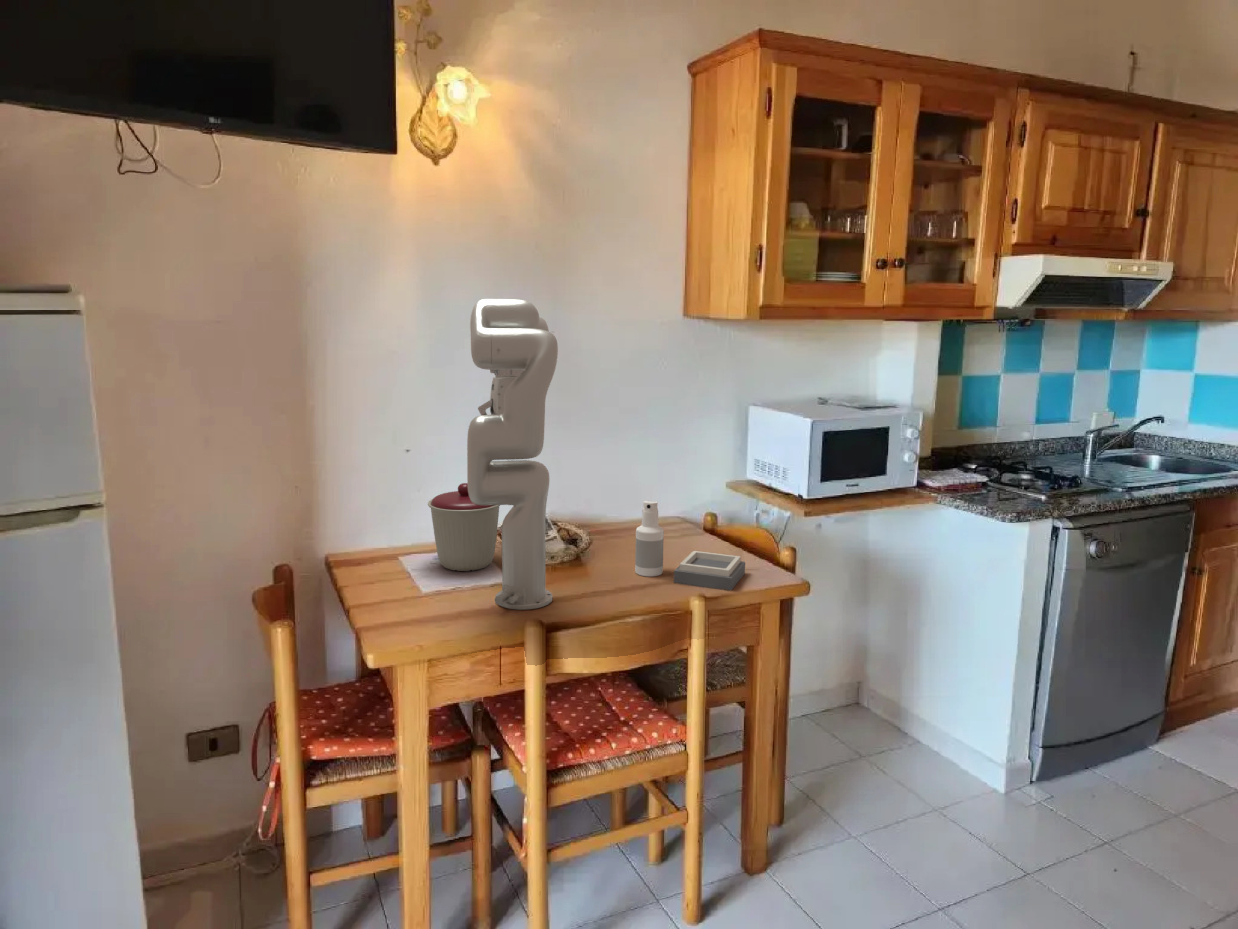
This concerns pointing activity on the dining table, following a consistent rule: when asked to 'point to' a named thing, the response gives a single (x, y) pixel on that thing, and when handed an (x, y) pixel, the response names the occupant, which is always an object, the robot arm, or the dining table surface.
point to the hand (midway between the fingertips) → (510, 437)
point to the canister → (463, 530)
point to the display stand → (710, 570)
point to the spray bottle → (649, 542)
